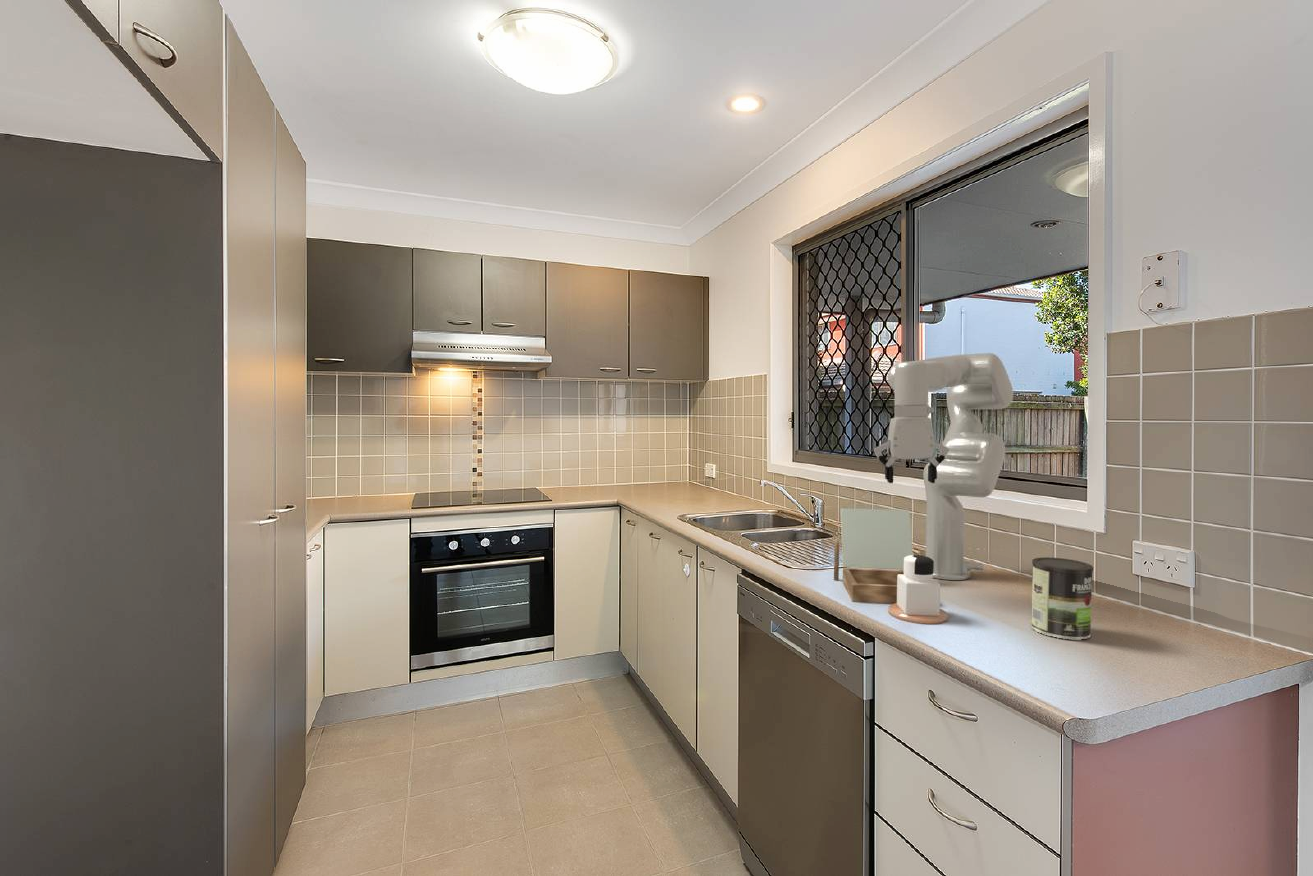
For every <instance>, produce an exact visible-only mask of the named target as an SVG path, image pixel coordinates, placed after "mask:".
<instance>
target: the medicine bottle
mask: <svg viewBox="0 0 1313 876" xmlns="http://www.w3.org/2000/svg"><path fill="white" fill-rule="evenodd" d="M933 573H934V561H933V560H932V559H931V558H929V557H926V555H920V554H913V555H909V556H906V557H905V558H904V574H898V575H897V605H898V606H899V607H900V609H901V610H902V611H903V612H904V613H905V614H906V615H921V616H939V615H940V609H941V583H939V582H938V581H937V580H936V579H935V578H932V577H933Z"/></svg>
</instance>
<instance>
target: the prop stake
mask: <svg viewBox="0 0 1313 876" xmlns="http://www.w3.org/2000/svg"><path fill="white" fill-rule="evenodd" d="M833 544H834V548H833V555H834V556H833V580H834V581H837V582H838V581H840V580H839V579H840V578H839V575H840V573H839V571H840V569H839V568H840V567H839V566H840V538H838V537H837V538H836V537H835V538H834V543H833Z"/></svg>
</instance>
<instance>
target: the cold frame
mask: <svg viewBox="0 0 1313 876" xmlns="http://www.w3.org/2000/svg"><path fill="white" fill-rule="evenodd" d="M898 574H904V570H901V569H877V568H852V567H842V584H843V587H844V588H845V590H846V592H847V595H848V596H849V598H850V599H851V601H852V602H855V601H860V602H859V603H861V602H862V603H878V604H879V603H881V604H895V603H897V575H898Z"/></svg>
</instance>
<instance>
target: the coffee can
mask: <svg viewBox="0 0 1313 876" xmlns="http://www.w3.org/2000/svg"><path fill="white" fill-rule="evenodd" d="M1031 564H1032V578H1031V580H1032V582H1031V584H1032V585H1031V593H1032V594H1031V618H1030V619H1031V620H1030V623H1031V624H1030V628H1031V627H1032V628H1031V629H1032V630H1033V629H1034V630H1035V632H1036V633H1038V632H1039V634H1040V633H1042V634H1041V635H1043V634H1044V636H1046V635H1047V636H1046V637H1050V636H1053V637H1052V638H1054V637H1057V638H1056V639H1058V638H1063V639H1062V640H1065V639H1069V640H1068V641H1082V640H1081V639H1086V638H1088V637H1089V636H1091V629H1092V628H1091V625H1092V624H1091V622H1092V620H1091V619H1092V599H1093V598H1092V596H1093V595H1092V593H1093V573H1094V572H1093V571H1094V566H1093V565H1091V564H1090V563H1087V562H1083V561H1079V560H1075V559H1069V558H1061V557H1060V558H1059V557H1051V556H1049V557H1048V556H1047V557H1034V558H1033V559H1032V560H1031ZM1034 630H1033V631H1034ZM1070 639H1071V640H1070Z"/></svg>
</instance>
